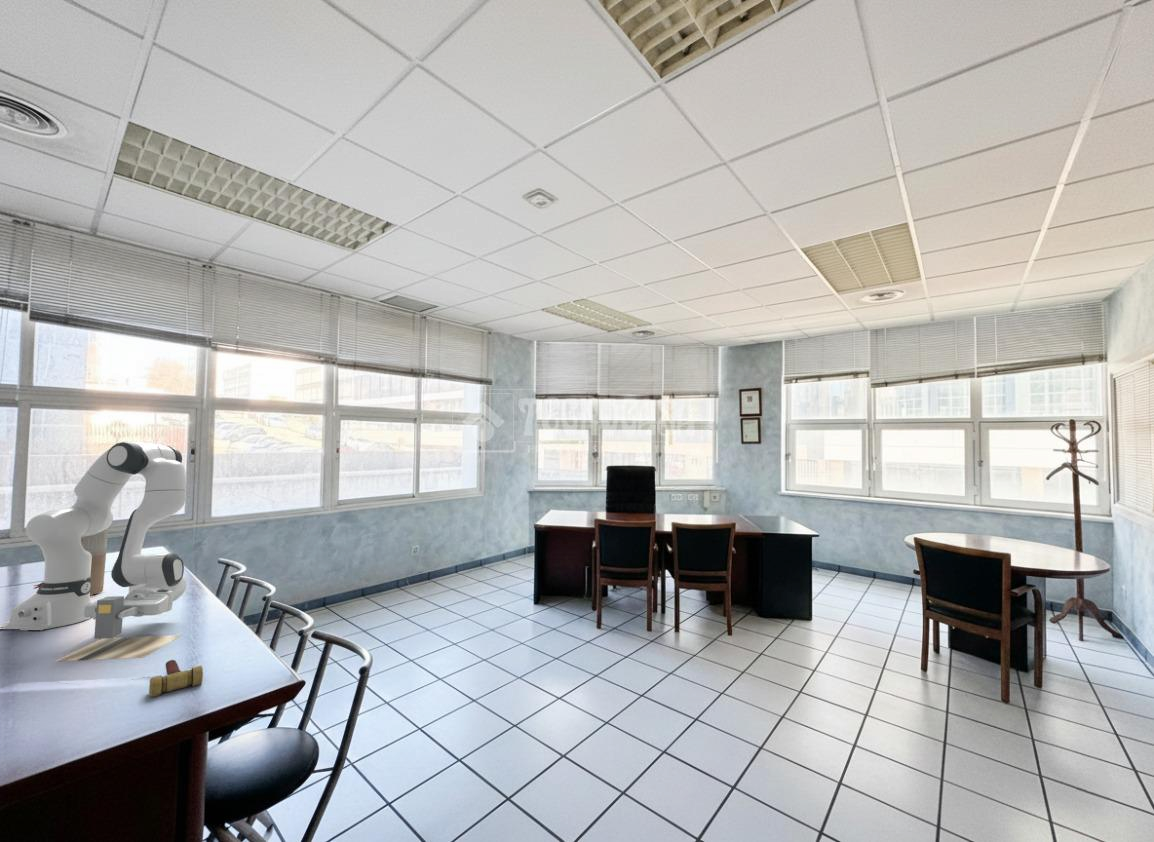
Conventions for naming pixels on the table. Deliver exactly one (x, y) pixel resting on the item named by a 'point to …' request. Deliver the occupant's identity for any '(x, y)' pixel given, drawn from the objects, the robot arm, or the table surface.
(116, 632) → the tall grey pillar
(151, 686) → the gavel
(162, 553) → the robot arm
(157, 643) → the board
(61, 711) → the table surface
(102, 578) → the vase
